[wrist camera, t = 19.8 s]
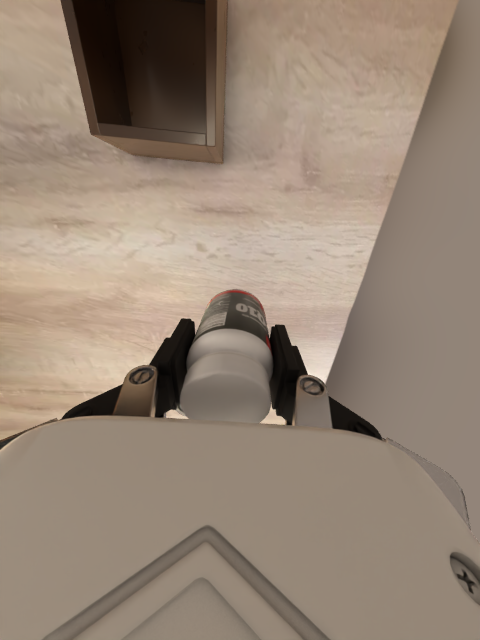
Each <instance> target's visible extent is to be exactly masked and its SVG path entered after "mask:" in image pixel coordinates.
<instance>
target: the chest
mask: <svg viewBox="0 0 480 640" xmlns="http://www.w3.org/2000/svg"><path fill="white" fill-rule="evenodd" d="M61 4H62V9H63V13H64V17H65V22H66V26H67V31H68V35H69V40H70V44H71V49H72V53H73V57H74V62H75V66H76V71H77V75H78V80H79V84H80V88H81V93H82V97H83V102H84V106H85V111H86V115H87V119H88V124H89V128H90V133H91V135H93V136H95V137H97V138H99V139H101V140H103V141H105V142H107V143H109V144H111V145H113V146H115V147H117V148H119V149H121V150H123V151H125V152H127V153H129V154H131V155H135V156H146V157H156V158H166V159H176V160H186V161H196V162H207V163H217V164H223V148H224V114H225V79H226V44H227V9H228V0H61Z"/></svg>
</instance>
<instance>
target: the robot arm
mask: <svg viewBox="0 0 480 640" xmlns="http://www.w3.org/2000/svg"><path fill="white" fill-rule="evenodd" d="M194 337H195V324H194V321H191V319H184V318H182V319H181V320H180V322H179V324H178V325H177V327H176V329H175V331H174V332H173V334H172V336H171V337H170V338H166V339H165V340H164V342H163V343H162V345H161V346H160V348H159V350H158V351H157V353H156V355H155V356H154V358H153V359H152V361H151V363H150V364H149V365H142V366H138V367H136V368H134V369H132V370H131V371H130V372H129V373H128V374H127V375H126V377H125V379H124V382H123V384H122V385H120V386H118V387H116V388H113V389H111V390H109V391H107V392H105V393H103V394H100V395H98V396H96V397H94V398H92V399H90V400H88V401H85V402H83V403H81V404H79V405H77V406H75V407H74V408H72V409H71V410H69V411H68V412H67V413H66V414H65V415H64V416H63V417H62V419H60V420H58V419H57V418H55V419H53V420H50V421H48V422H45V423H43V424H40V425H38V426H35V427H33V428H30V429H28V430H25V431H23V432H20V433H18V434H15V435H13V436H10V437H8V438H5V439H3V440H0V640H480V543H479V542H478V540H477V539H476V538H475V536H474V535H473V534H472V532H471V529H470V524H469V518H468V513H467V508H466V502H465V496H464V494H463V491H462V489H461V488H460V486H459V485H458V483H457V482H456V480H454V478H452V477H451V476H450V475H449V474H448V473H447V472H446V471H444V470H443V469H441V468H440V467H438V466H436V465H434V464H432V463H431V462H429V461H427V460H426V459H424V458H422V457H420V456H419V455H417V454H415V453H414V452H412V451H410V450H408V449H407V448H405V447H403V446H401V445H400V444H398V443H396V442H394V441H393V440H391V439H389V438H386V439H384V438H382V437H381V435H380V434H379V432H378V431H377V429H376V428H375V427H374V426H373V425H371V424H370V423H369V422H367V421H366V420H364V419H363V418H361V417H360V416H358V415H357V414H355V413H354V412H352V411H351V410H349V409H348V408H346V407H345V406H343V405H341V404H340V403H339V402H337V401H335V400H334V399H332V398H331V397H329V396H328V390H327V387H326V385H325V384H324V382H323V381H321V380H320V379H319V378H317V377H315V376H312V375H308V373H307V371H306V368H305V366H304V363H303V360H302V358H301V355H300V352H299V350H298V347H297V346H292V345H291V342H290V340H289V337H288V334H287V331H286V328H285V325H275V327H273V326H272V328H271V334H270V344H271V349H272V355H273V364H274V367H273V374H272V377H271V379H270V381H269V387H270V395H271V403H272V409H276V415H277V416H282V417H283V418H284V419H285V425H277V424H261V423H245V422H228V421H211V420H194V419H175V418H166V412H167V411H169V410H171V409H172V410H176V409H177V406H178V403H179V404H180V395H181V391H182V388H183V385H184V381H185V376H186V374H187V367H186V362H187V356H188V353H189V349H190V347H191V345H192V342H193V340H194Z"/></svg>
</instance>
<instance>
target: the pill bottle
mask: <svg viewBox="0 0 480 640" xmlns="http://www.w3.org/2000/svg"><path fill="white" fill-rule="evenodd" d="M186 367H187V374H186V376H185V381H184V385H183V388H182V391H181V395H180V405H181V408H182V410H183V412H184V414H185V415H186V416H187V417H188V418H189V419H194V420H211V421H228V422H245V423H260V422H261V421H262V420H263V419H264V418H265V417H266V416H267V415H268V413H269V411H270V407H271V396H270V387H269V381H270V379H271V377H272V374H273V367H274V364H273V355H272V349H271V344H270V339H269V334H268V328H267V323H266V317H265V312H264V309H263V306H262V304H261V303H260V301H259V300H258V299H257V298H256V297H255V296H254V295H252V294H251V293H249V292H246V291H243V290H238V289H232V290H227V291H223V292H221V293H219V294H217V295H216V296H215V297H213V298H212V299H211V301H210V302H209V304H208V306H207V308H206V310H205V313H204V315H203V318H202V320H201V323H200V325H199V328H198V330H197V333H196V335H195V337H194V340H193V342H192V345H191V347H190V349H189V353H188V356H187V362H186Z"/></svg>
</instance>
